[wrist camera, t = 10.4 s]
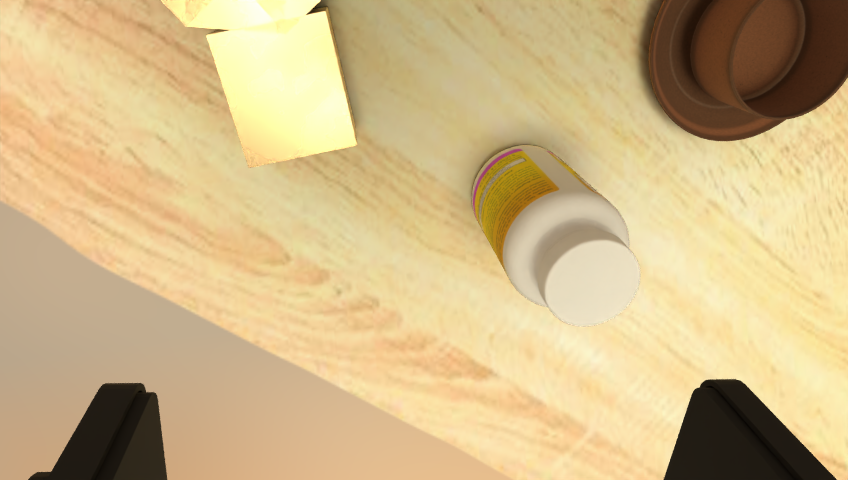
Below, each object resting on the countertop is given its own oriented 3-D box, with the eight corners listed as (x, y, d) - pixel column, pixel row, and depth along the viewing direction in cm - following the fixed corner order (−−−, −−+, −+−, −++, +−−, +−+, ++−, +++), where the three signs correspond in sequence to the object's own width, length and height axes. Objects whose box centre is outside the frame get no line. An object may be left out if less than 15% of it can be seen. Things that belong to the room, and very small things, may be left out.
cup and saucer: (776, -119, 34) (862, -136, 28) (849, 51, 38) (935, 66, 33) (601, 24, 36) (648, 35, 30) (690, 169, 41) (745, 201, 35)
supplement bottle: (460, 231, 40) (507, 338, 29) (481, 135, 38) (543, 210, 26) (553, 242, 41) (635, 350, 30) (580, 150, 39) (681, 228, 27)
